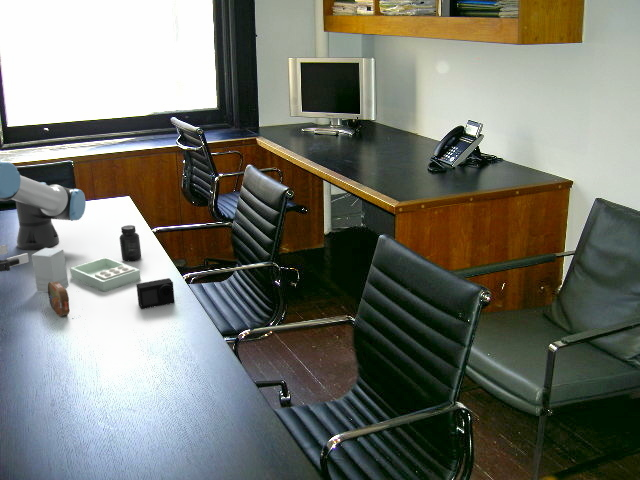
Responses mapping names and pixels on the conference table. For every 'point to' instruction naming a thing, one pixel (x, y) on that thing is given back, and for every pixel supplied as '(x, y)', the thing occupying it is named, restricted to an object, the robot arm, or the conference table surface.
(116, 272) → the egg carton
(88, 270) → the pale green tray
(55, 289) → the tin
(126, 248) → the supplement bottle
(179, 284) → the conference table surface
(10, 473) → the conference table surface
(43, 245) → the robot arm
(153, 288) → the digital camera
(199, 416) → the conference table surface
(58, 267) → the supplement box
